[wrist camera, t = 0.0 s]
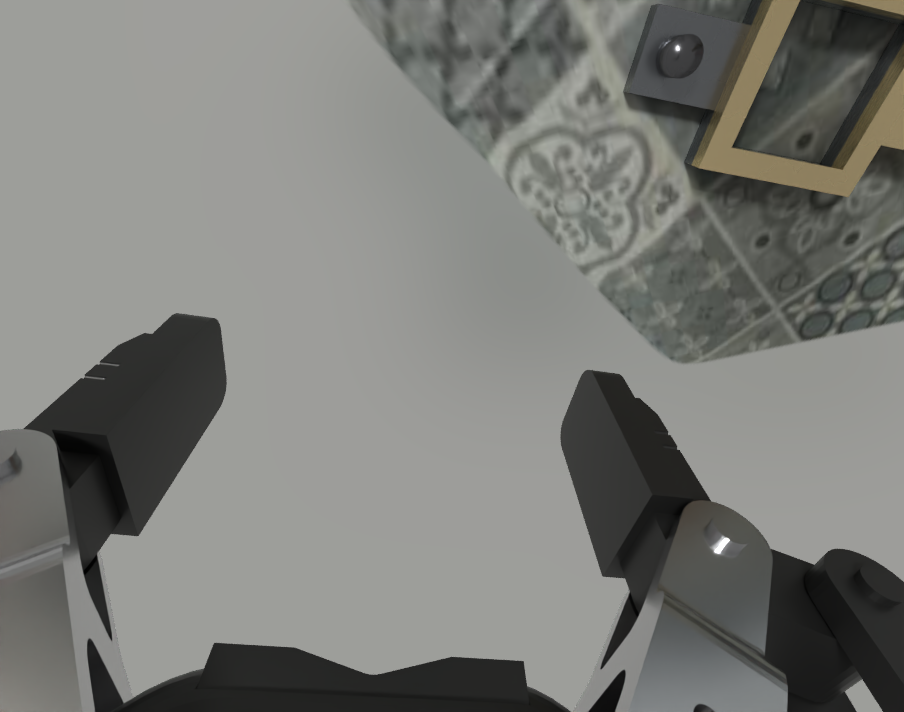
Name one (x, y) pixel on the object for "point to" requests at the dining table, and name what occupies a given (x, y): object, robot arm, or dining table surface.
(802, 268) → the dining table surface
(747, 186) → the dining table surface
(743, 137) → the dining table surface
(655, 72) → the chain end
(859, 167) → the chain end
